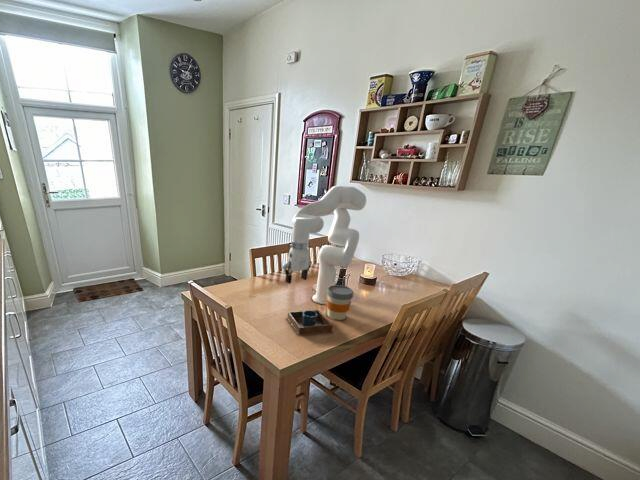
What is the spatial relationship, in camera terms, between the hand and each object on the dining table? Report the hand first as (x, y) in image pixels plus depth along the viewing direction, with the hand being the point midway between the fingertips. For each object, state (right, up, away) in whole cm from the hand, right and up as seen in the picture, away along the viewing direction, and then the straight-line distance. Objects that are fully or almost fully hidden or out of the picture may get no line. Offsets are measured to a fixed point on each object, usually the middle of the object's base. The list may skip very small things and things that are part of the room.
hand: (296, 280), depth 155 cm
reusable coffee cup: (+23, -18, +14) cm, 32 cm away
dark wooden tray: (+7, -22, +4) cm, 23 cm away
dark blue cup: (+7, -21, +4) cm, 23 cm away
